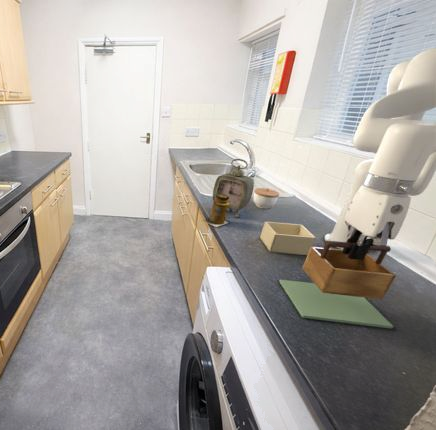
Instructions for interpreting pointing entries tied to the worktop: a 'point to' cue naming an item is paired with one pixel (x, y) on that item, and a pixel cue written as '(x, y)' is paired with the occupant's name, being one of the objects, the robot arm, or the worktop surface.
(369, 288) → the wooden basket
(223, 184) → the tabletop clock
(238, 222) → the worktop surface
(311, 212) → the worktop surface
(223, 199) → the condiment
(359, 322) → the green mat
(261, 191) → the trinket box
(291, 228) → the cream basket
